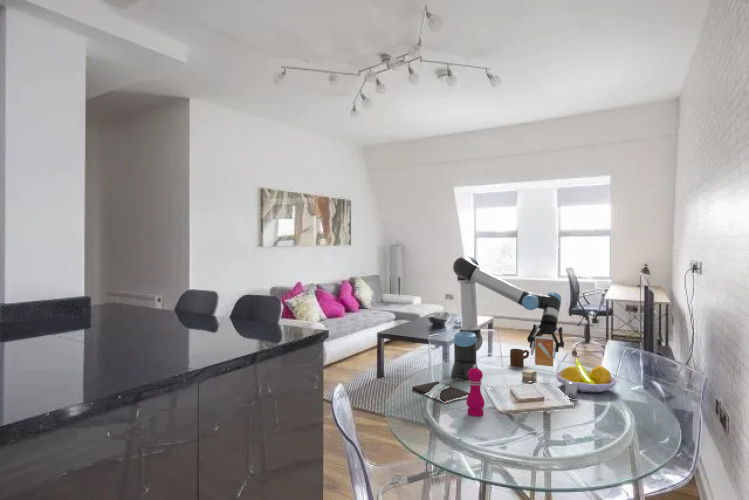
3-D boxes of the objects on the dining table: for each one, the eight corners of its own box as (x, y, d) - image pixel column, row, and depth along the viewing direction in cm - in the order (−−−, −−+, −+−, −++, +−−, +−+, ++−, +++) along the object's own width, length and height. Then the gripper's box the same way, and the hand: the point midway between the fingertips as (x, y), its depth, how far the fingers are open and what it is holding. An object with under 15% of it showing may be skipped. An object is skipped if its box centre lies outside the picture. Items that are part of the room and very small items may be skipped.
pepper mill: (485, 411, 172) (484, 363, 172) (483, 418, 165) (483, 367, 166) (467, 409, 174) (467, 361, 175) (465, 415, 167) (465, 365, 168)
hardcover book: (437, 385, 210) (437, 381, 210) (470, 398, 190) (470, 393, 190) (412, 391, 201) (412, 386, 201) (445, 405, 182) (445, 399, 182)
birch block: (530, 382, 213) (530, 372, 214) (522, 380, 218) (522, 370, 218) (536, 380, 216) (536, 371, 216) (528, 378, 220) (528, 369, 221)
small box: (535, 365, 200) (535, 338, 200) (534, 362, 206) (534, 335, 206) (553, 366, 198) (553, 339, 198) (552, 363, 204) (552, 336, 204)
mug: (525, 363, 253) (525, 347, 253) (532, 366, 245) (532, 350, 246) (507, 364, 250) (507, 348, 250) (514, 367, 243) (514, 351, 243)
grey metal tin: (570, 400, 185) (570, 385, 185) (562, 397, 190) (562, 381, 190) (579, 399, 186) (579, 384, 187) (571, 396, 191) (571, 381, 191)
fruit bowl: (617, 401, 185) (617, 375, 185) (551, 391, 198) (551, 367, 198) (617, 384, 209) (616, 362, 209) (558, 377, 222) (558, 356, 223)
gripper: (574, 325, 209) (568, 363, 195) (528, 321, 221) (520, 356, 208) (572, 315, 204) (566, 354, 191) (526, 312, 217) (517, 347, 204)
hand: (542, 355), depth 199 cm, fingers closed on small box, 9 cm apart
